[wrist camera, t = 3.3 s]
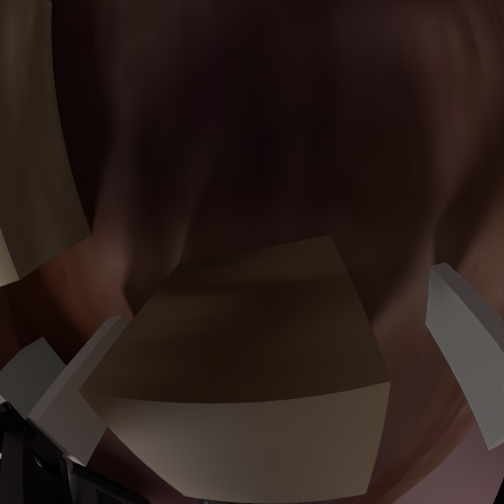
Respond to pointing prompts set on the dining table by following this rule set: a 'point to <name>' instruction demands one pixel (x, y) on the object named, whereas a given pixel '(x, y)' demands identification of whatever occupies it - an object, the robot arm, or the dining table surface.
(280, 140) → the dining table surface
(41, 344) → the grey green cube
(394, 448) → the dining table surface
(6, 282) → the plinth
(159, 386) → the walnut block
